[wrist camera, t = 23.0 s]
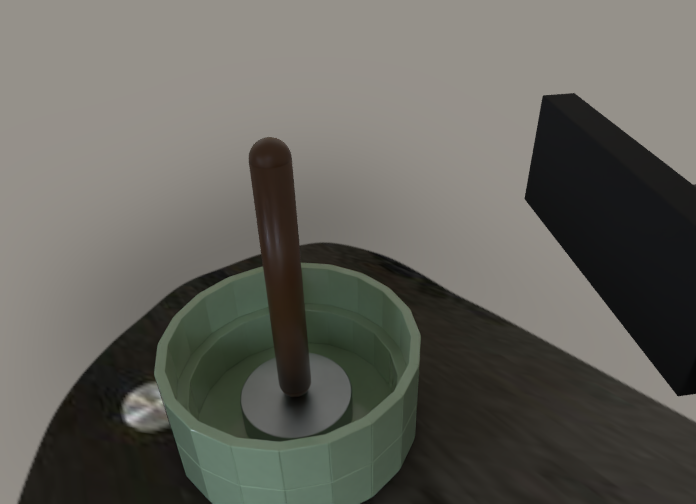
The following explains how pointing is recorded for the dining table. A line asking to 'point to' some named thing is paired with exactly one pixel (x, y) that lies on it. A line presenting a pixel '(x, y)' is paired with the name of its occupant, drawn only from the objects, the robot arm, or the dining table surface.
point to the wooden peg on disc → (287, 320)
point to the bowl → (257, 347)
